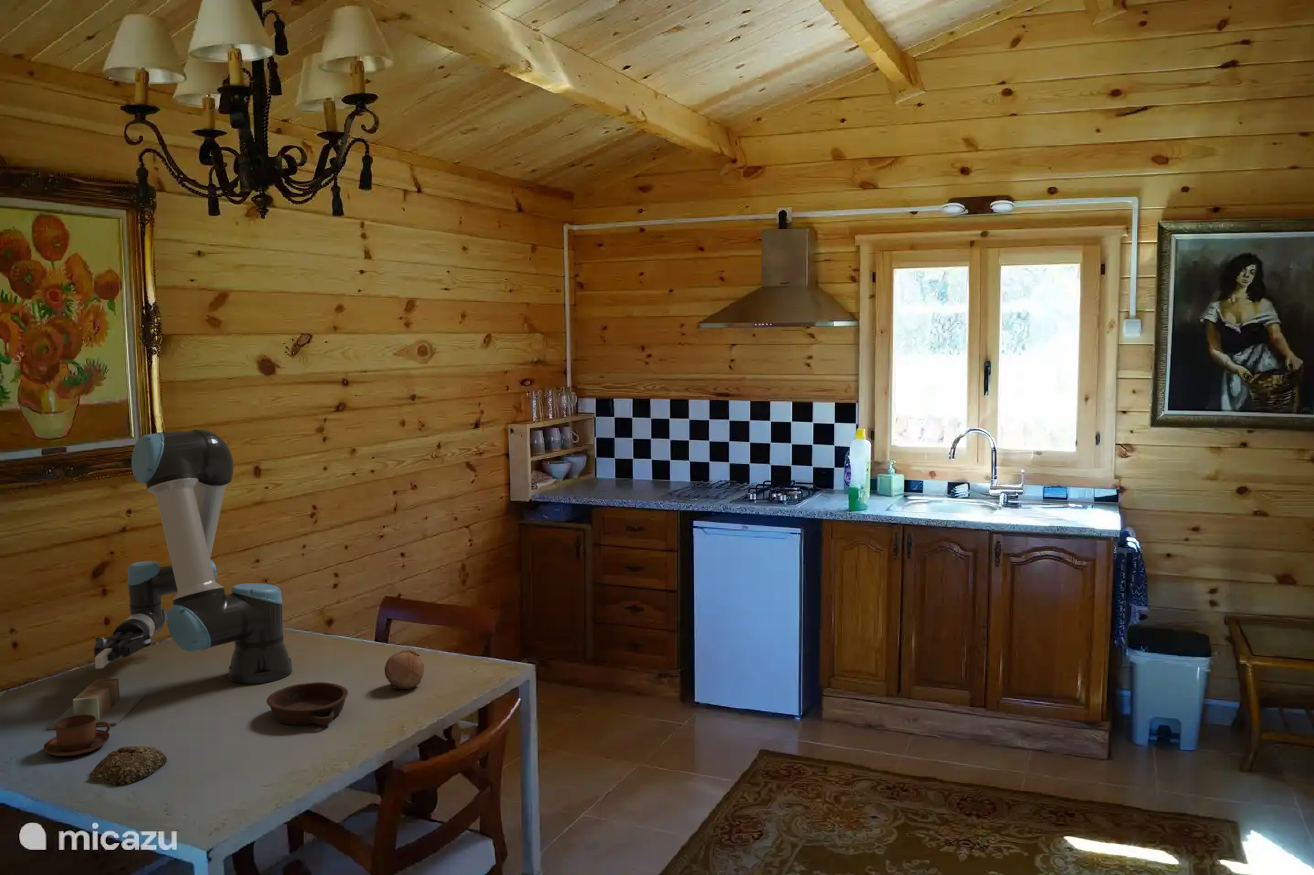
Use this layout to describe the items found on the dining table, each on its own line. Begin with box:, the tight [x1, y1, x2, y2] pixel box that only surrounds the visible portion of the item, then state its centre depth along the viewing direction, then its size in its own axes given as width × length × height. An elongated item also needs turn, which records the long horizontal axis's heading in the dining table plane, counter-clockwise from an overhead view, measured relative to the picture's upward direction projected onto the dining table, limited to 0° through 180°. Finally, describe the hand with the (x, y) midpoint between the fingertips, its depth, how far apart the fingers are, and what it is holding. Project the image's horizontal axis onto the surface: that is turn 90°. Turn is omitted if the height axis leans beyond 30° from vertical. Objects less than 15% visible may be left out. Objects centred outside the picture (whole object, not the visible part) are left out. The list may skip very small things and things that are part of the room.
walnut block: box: [72, 678, 120, 720], centre depth 234 cm, size 5×5×13 cm
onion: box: [384, 648, 425, 691], centre depth 250 cm, size 10×9×10 cm
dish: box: [266, 681, 349, 726], centre depth 232 cm, size 18×22×5 cm
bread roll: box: [91, 745, 168, 786], centre depth 203 cm, size 13×12×5 cm
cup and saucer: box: [43, 715, 111, 757], centre depth 214 cm, size 12×12×6 cm
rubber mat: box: [47, 685, 153, 730], centre depth 237 cm, size 14×24×1 cm, turn 9°
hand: (98, 662), depth 235 cm, fingers closed
